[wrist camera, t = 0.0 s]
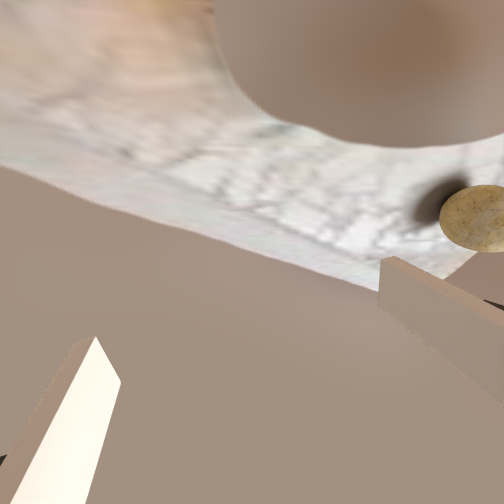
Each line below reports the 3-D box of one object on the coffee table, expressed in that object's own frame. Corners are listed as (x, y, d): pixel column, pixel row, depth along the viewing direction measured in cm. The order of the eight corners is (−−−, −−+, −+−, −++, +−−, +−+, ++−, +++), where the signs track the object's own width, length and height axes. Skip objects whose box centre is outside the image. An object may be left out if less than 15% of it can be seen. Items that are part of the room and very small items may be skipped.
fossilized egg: (479, 160, 48) (571, 196, 37) (480, 199, 56) (555, 237, 45) (419, 203, 51) (488, 248, 41) (428, 234, 60) (487, 277, 49)
